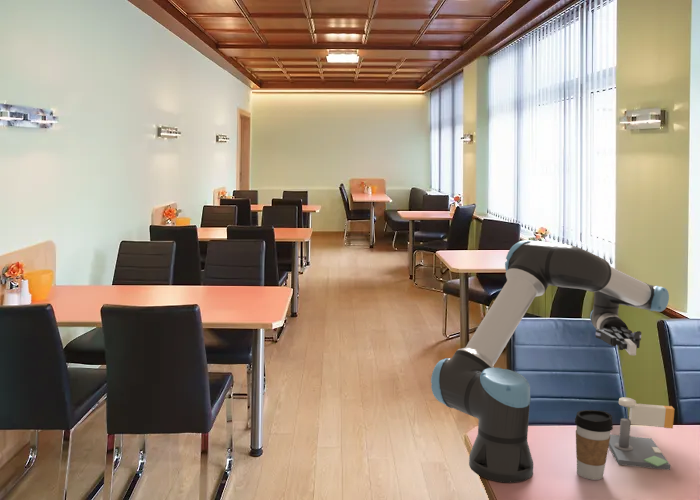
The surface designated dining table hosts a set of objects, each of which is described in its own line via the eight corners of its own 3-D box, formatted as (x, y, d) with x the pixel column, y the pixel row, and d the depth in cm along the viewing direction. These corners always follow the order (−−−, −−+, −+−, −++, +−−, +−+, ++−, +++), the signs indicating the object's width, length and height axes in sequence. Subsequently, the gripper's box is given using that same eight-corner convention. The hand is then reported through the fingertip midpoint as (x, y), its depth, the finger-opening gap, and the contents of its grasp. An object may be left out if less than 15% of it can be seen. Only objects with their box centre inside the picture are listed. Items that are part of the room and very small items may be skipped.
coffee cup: (612, 484, 143) (617, 422, 141) (574, 480, 145) (578, 419, 143) (604, 468, 151) (609, 409, 149) (568, 464, 153) (572, 405, 151)
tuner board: (619, 467, 152) (620, 461, 152) (604, 438, 169) (604, 432, 169) (672, 472, 150) (672, 466, 149) (651, 442, 167) (651, 437, 166)
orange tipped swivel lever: (617, 448, 159) (621, 402, 157) (613, 441, 163) (617, 396, 161) (671, 453, 156) (676, 407, 155) (666, 447, 160) (670, 401, 159)
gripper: (633, 341, 188) (658, 365, 165) (589, 338, 190) (606, 362, 167) (635, 317, 187) (660, 338, 164) (590, 315, 189) (608, 335, 166)
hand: (633, 350), depth 166 cm, fingers closed
